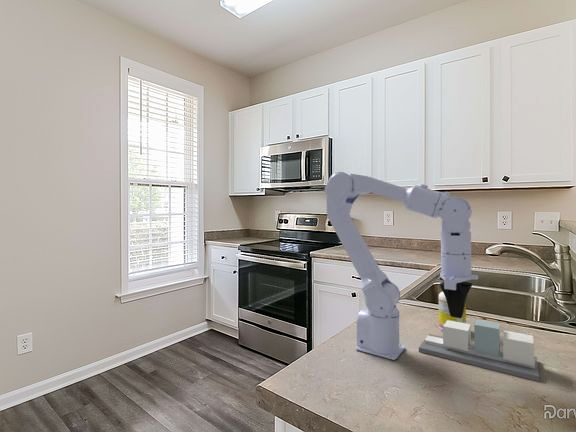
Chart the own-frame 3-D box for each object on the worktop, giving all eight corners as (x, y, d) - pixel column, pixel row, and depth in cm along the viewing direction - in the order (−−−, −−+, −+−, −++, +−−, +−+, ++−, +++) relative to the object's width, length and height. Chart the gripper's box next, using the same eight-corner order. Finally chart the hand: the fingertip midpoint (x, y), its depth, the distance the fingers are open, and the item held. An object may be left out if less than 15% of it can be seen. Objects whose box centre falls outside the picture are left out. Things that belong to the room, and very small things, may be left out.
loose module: (474, 351, 69) (474, 324, 69) (476, 345, 72) (476, 319, 72) (498, 357, 66) (498, 329, 66) (500, 350, 69) (500, 323, 69)
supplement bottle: (457, 325, 89) (456, 281, 89) (471, 335, 83) (471, 286, 82) (434, 326, 89) (434, 281, 89) (446, 335, 82) (446, 287, 82)
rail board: (418, 351, 73) (418, 325, 73) (428, 337, 81) (428, 313, 81) (539, 381, 60) (539, 349, 60) (536, 361, 68) (536, 332, 68)
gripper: (473, 258, 58) (473, 331, 58) (481, 250, 70) (481, 311, 70) (432, 256, 62) (433, 323, 62) (446, 248, 74) (447, 305, 74)
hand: (456, 316), depth 66 cm, fingers closed
